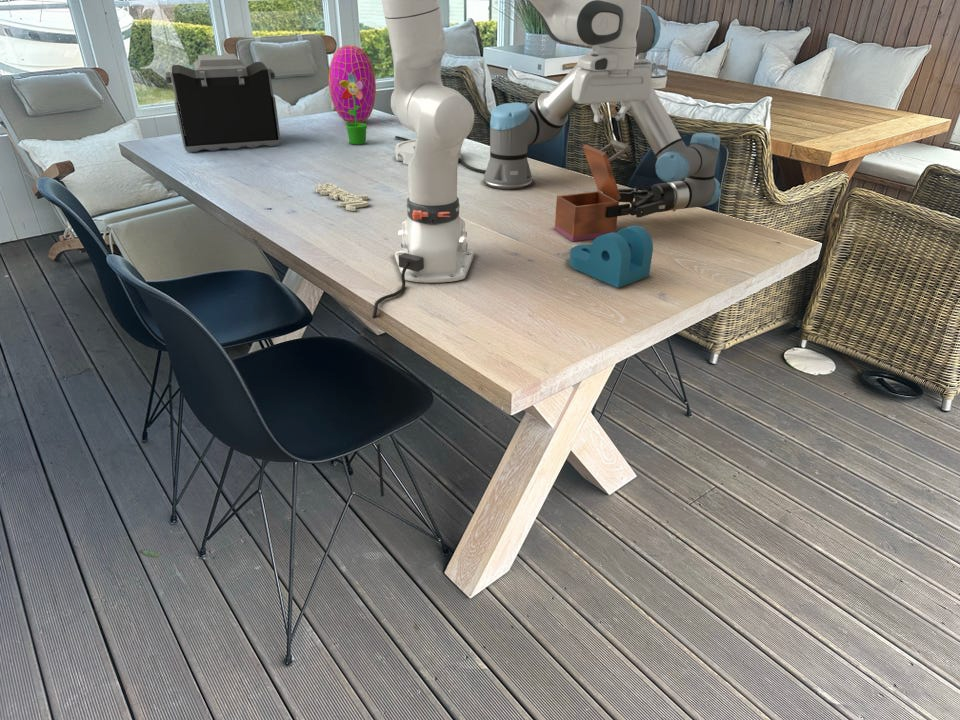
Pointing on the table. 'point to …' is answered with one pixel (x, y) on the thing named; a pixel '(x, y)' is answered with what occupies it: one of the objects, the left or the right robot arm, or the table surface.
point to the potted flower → (354, 129)
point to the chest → (584, 215)
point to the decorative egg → (361, 68)
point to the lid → (604, 167)
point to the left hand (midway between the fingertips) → (608, 121)
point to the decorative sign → (343, 196)
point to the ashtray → (407, 151)
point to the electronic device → (225, 104)
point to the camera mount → (615, 256)
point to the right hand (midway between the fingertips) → (596, 206)
